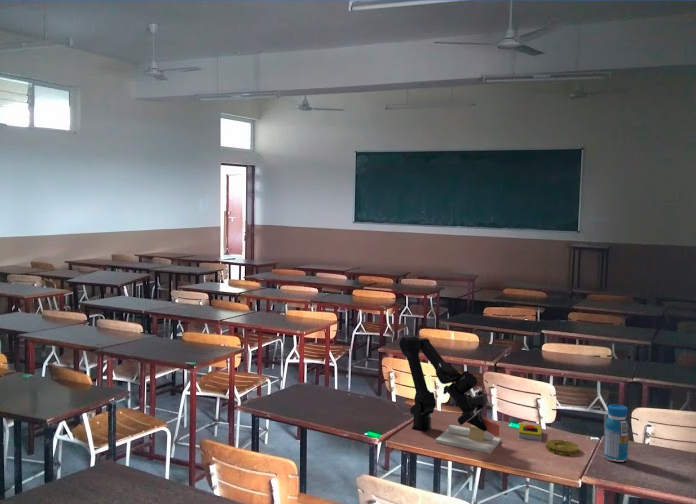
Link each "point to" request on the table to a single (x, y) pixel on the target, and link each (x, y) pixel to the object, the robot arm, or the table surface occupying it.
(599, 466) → the table surface
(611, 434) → the beverage bottle
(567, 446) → the olive round disc
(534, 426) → the emergency button
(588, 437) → the table surface
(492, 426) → the lever
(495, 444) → the board
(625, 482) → the table surface
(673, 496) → the table surface
